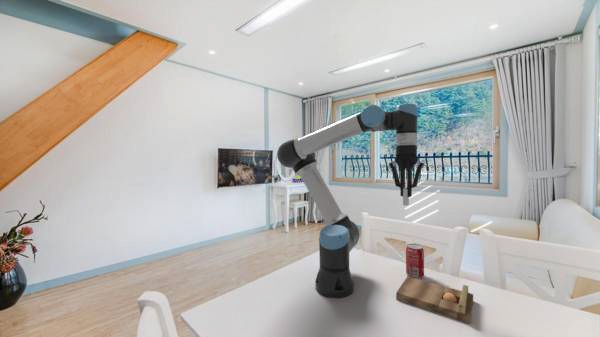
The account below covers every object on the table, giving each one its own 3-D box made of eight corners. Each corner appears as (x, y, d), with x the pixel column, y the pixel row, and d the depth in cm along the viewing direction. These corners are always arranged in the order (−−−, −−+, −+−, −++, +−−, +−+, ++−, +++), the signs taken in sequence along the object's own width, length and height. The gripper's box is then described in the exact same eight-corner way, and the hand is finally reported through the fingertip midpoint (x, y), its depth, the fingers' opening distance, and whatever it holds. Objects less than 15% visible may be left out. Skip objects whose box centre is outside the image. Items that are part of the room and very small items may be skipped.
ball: (441, 304, 85) (443, 293, 84) (443, 299, 88) (445, 288, 87) (454, 310, 82) (456, 299, 82) (456, 304, 86) (458, 294, 85)
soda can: (426, 280, 102) (426, 249, 102) (407, 278, 104) (407, 248, 103) (421, 272, 109) (421, 243, 108) (404, 271, 110) (404, 242, 110)
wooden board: (396, 299, 89) (396, 285, 89) (407, 282, 101) (407, 270, 100) (470, 323, 75) (470, 308, 75) (473, 301, 87) (473, 287, 87)
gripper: (386, 145, 97) (386, 204, 98) (422, 143, 89) (421, 208, 90) (392, 145, 103) (392, 201, 104) (426, 144, 95) (426, 205, 96)
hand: (405, 204), depth 97 cm, fingers closed
